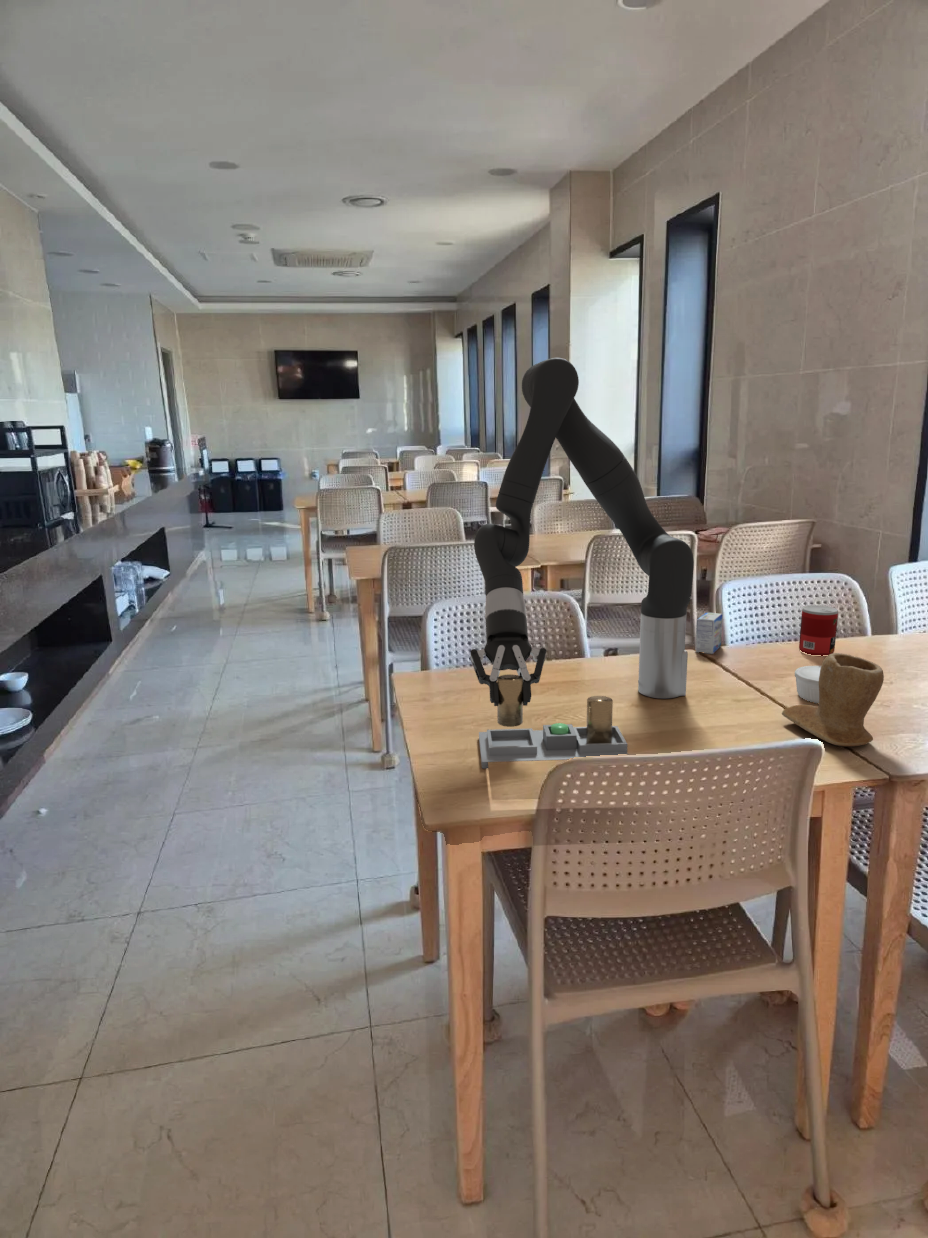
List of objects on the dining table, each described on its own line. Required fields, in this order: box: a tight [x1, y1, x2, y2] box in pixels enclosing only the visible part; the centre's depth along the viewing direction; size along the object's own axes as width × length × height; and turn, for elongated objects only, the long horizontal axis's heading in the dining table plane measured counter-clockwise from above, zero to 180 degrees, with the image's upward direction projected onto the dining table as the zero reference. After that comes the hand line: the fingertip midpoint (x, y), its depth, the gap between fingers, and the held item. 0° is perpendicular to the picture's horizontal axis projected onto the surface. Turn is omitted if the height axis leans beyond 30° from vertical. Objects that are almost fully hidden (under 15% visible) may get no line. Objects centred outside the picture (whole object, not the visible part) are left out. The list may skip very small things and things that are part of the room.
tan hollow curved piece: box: [781, 652, 885, 747], centre depth 140 cm, size 15×12×15 cm
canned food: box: [798, 604, 839, 657], centre depth 189 cm, size 8×8×11 cm
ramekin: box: [794, 665, 822, 704], centre depth 160 cm, size 11×11×5 cm
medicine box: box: [694, 612, 723, 655], centre depth 194 cm, size 8×4×9 cm, turn 148°
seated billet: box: [586, 695, 614, 744], centre depth 137 cm, size 4×4×8 cm
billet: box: [496, 674, 524, 728], centre depth 135 cm, size 4×4×8 cm
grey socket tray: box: [478, 723, 629, 769], centre depth 137 cm, size 25×13×4 cm, turn 91°
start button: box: [550, 722, 568, 734], centre depth 137 cm, size 3×3×2 cm
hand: (511, 703), depth 133 cm, fingers closed on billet, 4 cm apart
